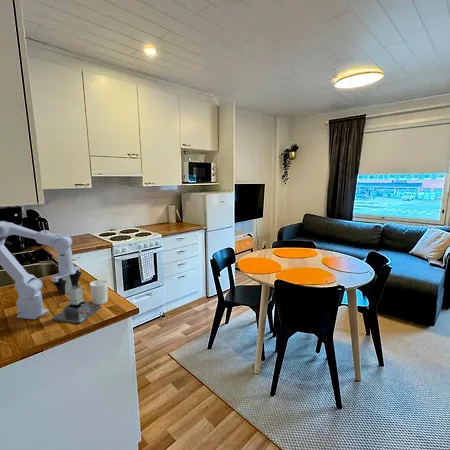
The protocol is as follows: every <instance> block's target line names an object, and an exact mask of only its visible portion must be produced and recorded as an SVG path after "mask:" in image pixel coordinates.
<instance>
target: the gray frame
mask: <svg viewBox="0 0 450 450" xmlns="http://www.w3.org/2000/svg"><path fill="white" fill-rule="evenodd" d="M63 309H64V310H63V311H61V312H59V313H58V314H56V315H54V316H53V317H52V318H51V321H53V322H63V323H69V324H70V323H72V324H80V325H81V324H82V323H83V322H85V321H86V320H87V319H89V318H90V317H92V316H93V315H94V314H95V313H97V312H98V311H99V310H100V309H102V305H97V304H90V301H84V300H83V301H82V302H81V303H79V304H78V305H74V304H69V303H68V305H66V306H65V307H63Z"/></svg>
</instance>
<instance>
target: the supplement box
mask: <svg viewBox="0 0 450 450" xmlns="http://www.w3.org/2000/svg"><path fill="white" fill-rule="evenodd" d="M73 267H75V266H74V265H73ZM62 280H66V284H65V295H66V294H67V295H68V288H70V287H72V284H71V279H70V277H69V276H66V277H64V278H62Z"/></svg>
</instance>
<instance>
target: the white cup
mask: <svg viewBox="0 0 450 450" xmlns="http://www.w3.org/2000/svg"><path fill="white" fill-rule="evenodd" d="M89 289H90V294H91V299H92V304H93V305H97V306H100V305H102V304H105V303H107V302H108V299H109V298H108V295H109V286H108V280H107V279H97V280H94V281H91V282H90V283H89Z"/></svg>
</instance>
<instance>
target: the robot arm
mask: <svg viewBox="0 0 450 450" xmlns="http://www.w3.org/2000/svg"><path fill="white" fill-rule="evenodd" d="M9 236H19V237H24V238H28V239H33V240H35V241H36V243H37V244H41V245H44V246H47V247H52V248H54V249H55V250H56V255H57V265H58V273H57V274H55V275H54V276H52V277H51V279H52V281H51V282H52V284H53V285H54V286H55V288H57V291H58V293H59V295H62V296H65V295H66V294H65V284H66V280H62V278H64V277H66V276H69V277H70V279H71V284H72V286H74V285H76V286H79V285H78V284H79V280H80V277H81V275H82V271H81V267H80V266H74V262H73V261H74V260H73V252H72V244H73V238H72V237H71V236H69V235H66V234H62V235H61V234H60V233H53V232H51V231H50V230H47V229H45V230H41V231H36V230H33V229H30V228H27V227H24V226H22V225H18V224H15V223H13V222H8V221H5V220H0V266H1V267H2V268H3V270H4V271H5V272H6V273H7V274H8V276H9V277H10V278H11V279H12V280H13V281H14V289H15V290H16V291H17V295H18V298H17V300H16V310H17V316H16V318H19V319H29V320H36V319H38V318H39V317H40V316H42V315H44V314H46V313H48V312H49V310H50V309H46V308H44V303H43V295H42V292H41V290H42V288H43V285H44V283H43V281H42V280H41V279H39V278H37V277H36V276H35V275H34V274H30V273H28V272H27V270H26V269H25V268H24V267H23V266H22V265H21V264H20V262H19V261H18V260H17V259H16V257H15V256H14V255H13V254H12V253H11V252H10V251H9V250H8V248H7V247H6V246H5V243H6V239H7V238H8V237H9ZM73 266H74V267H73Z"/></svg>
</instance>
